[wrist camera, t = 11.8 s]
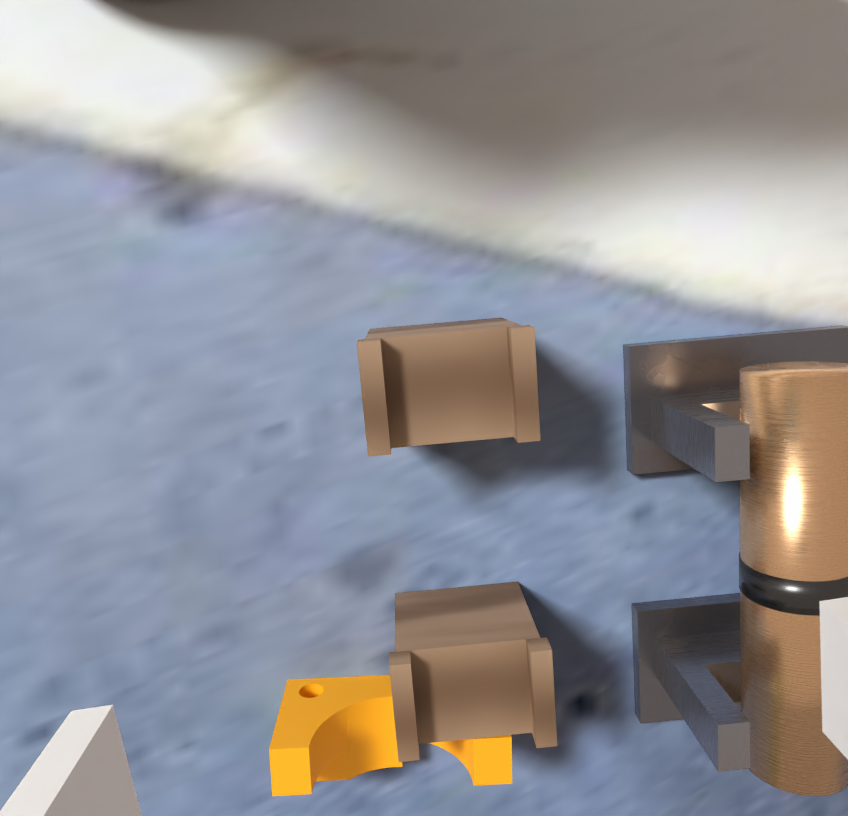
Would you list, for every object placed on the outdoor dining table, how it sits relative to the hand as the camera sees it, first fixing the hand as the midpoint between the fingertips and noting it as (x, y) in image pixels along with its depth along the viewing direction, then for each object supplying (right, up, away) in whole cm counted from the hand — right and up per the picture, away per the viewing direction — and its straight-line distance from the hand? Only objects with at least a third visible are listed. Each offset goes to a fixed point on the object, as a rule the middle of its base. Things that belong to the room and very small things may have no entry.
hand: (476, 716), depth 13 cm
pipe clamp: (-3, -12, +29) cm, 32 cm away
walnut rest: (0, 0, +27) cm, 27 cm away
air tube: (+17, -2, +21) cm, 27 cm away
